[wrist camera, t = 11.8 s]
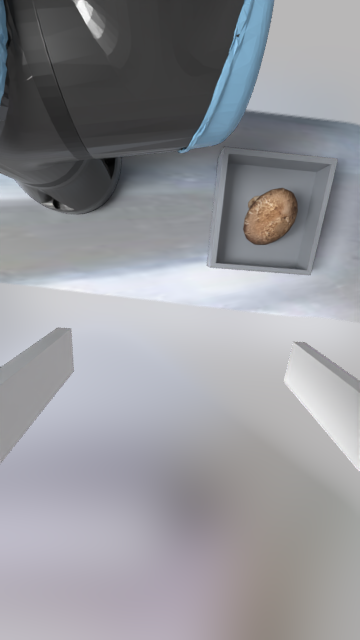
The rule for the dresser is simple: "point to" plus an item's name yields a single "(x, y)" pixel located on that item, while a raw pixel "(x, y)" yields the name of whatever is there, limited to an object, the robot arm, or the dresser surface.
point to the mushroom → (270, 216)
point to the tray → (254, 180)
